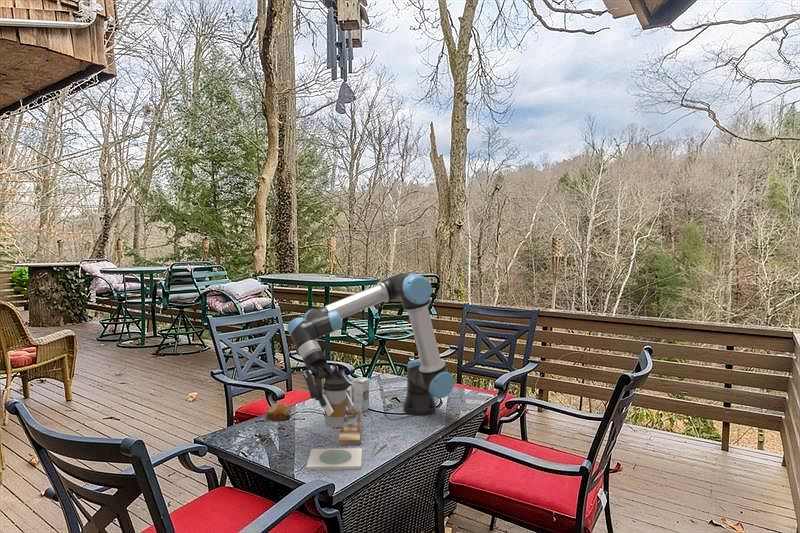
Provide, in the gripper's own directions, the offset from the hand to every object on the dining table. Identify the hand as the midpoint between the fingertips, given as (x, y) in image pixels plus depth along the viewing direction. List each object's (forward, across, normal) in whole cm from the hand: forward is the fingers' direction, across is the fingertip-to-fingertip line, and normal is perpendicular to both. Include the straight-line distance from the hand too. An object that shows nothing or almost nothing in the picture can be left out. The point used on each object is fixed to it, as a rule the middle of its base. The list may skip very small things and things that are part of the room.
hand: (341, 410), depth 156 cm
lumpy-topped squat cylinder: (-21, -38, -47) cm, 64 cm away
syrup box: (-11, -41, -37) cm, 56 cm away
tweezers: (+15, -13, -11) cm, 23 cm away
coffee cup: (+2, 0, -6) cm, 7 cm away
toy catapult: (+2, -18, -24) cm, 30 cm away
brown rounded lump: (-24, -10, -50) cm, 56 cm away
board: (+11, 0, -15) cm, 18 cm away
